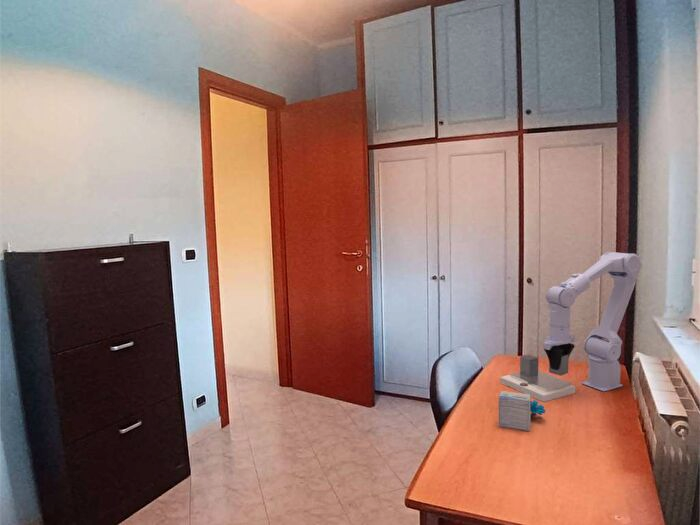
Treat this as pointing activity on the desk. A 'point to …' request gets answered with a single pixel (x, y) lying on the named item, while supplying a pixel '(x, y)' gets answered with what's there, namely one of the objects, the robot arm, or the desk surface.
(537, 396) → the kitchen scale
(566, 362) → the block
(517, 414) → the medicine box
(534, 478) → the desk surface
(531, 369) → the block
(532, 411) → the gear
